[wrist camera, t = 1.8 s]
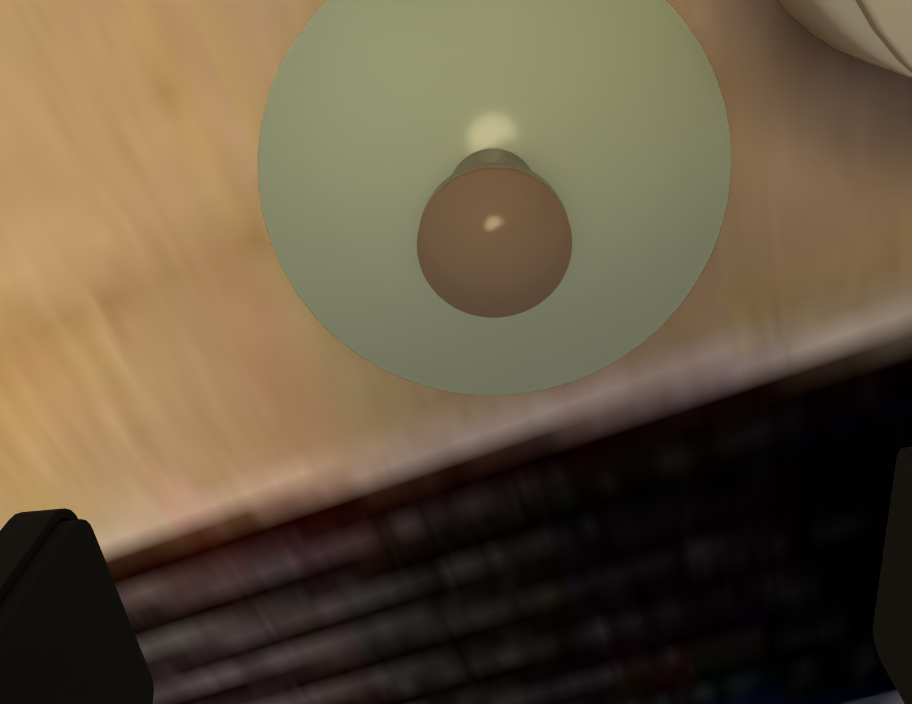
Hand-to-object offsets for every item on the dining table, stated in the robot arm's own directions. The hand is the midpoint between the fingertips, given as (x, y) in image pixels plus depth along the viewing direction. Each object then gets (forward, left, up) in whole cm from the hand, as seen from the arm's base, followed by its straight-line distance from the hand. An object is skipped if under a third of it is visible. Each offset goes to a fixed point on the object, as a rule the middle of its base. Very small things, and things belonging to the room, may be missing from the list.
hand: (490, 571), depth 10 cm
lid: (-1, +1, -21) cm, 21 cm away
